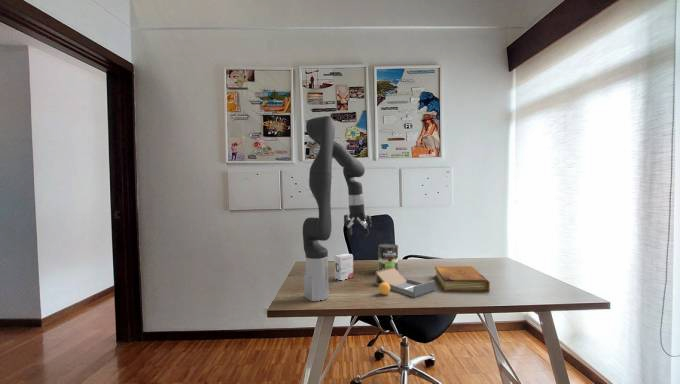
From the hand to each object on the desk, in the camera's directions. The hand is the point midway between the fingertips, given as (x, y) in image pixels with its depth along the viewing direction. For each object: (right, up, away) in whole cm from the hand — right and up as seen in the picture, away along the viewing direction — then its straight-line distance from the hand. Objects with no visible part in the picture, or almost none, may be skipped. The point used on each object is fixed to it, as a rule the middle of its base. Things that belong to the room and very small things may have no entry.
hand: (358, 235), depth 165 cm
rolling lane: (+19, -22, -17) cm, 34 cm away
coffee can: (+16, -21, +8) cm, 28 cm away
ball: (+9, -19, -26) cm, 33 cm away
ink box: (-7, -22, -2) cm, 23 cm away
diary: (+46, -21, -13) cm, 52 cm away
